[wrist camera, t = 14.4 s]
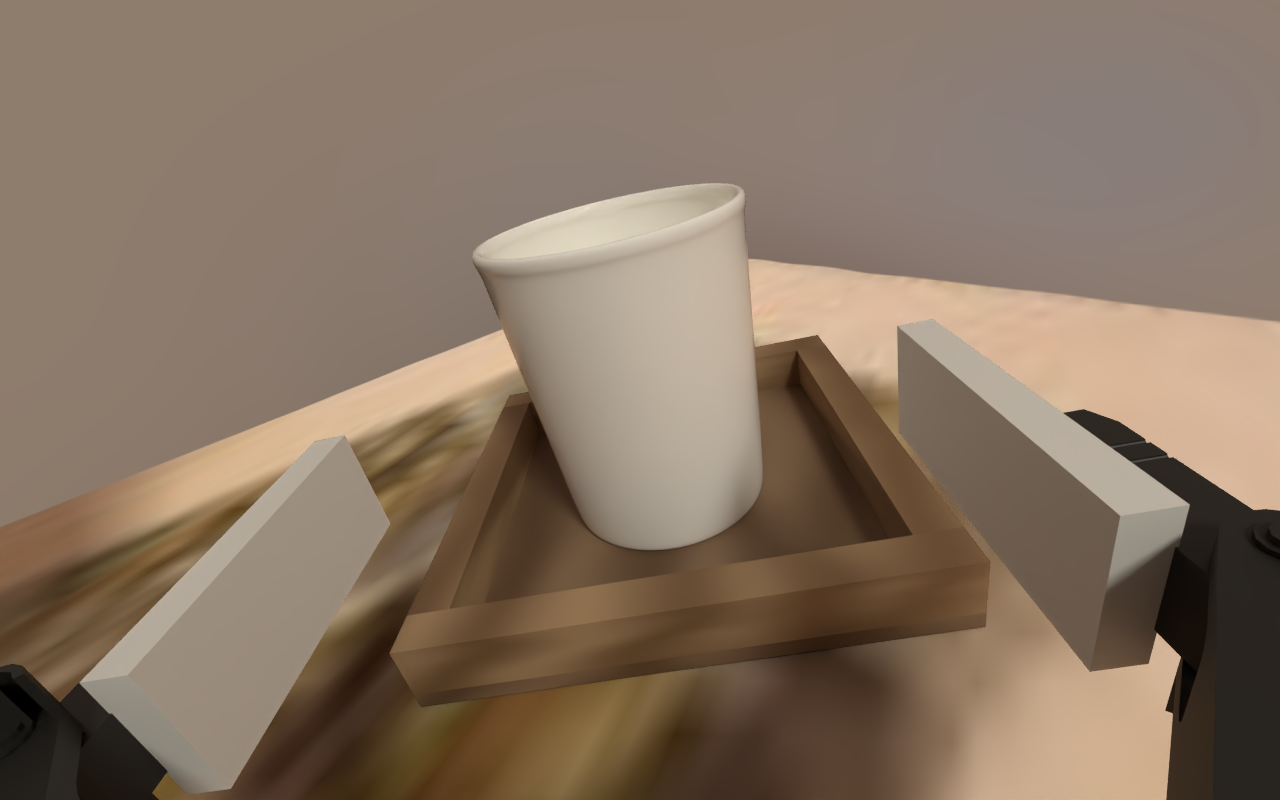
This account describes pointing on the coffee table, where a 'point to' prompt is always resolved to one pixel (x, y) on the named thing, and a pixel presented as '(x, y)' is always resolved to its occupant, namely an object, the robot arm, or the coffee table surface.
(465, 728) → the coffee table surface
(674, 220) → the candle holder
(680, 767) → the coffee table surface
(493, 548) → the walnut tray
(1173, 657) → the coffee table surface
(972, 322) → the coffee table surface
